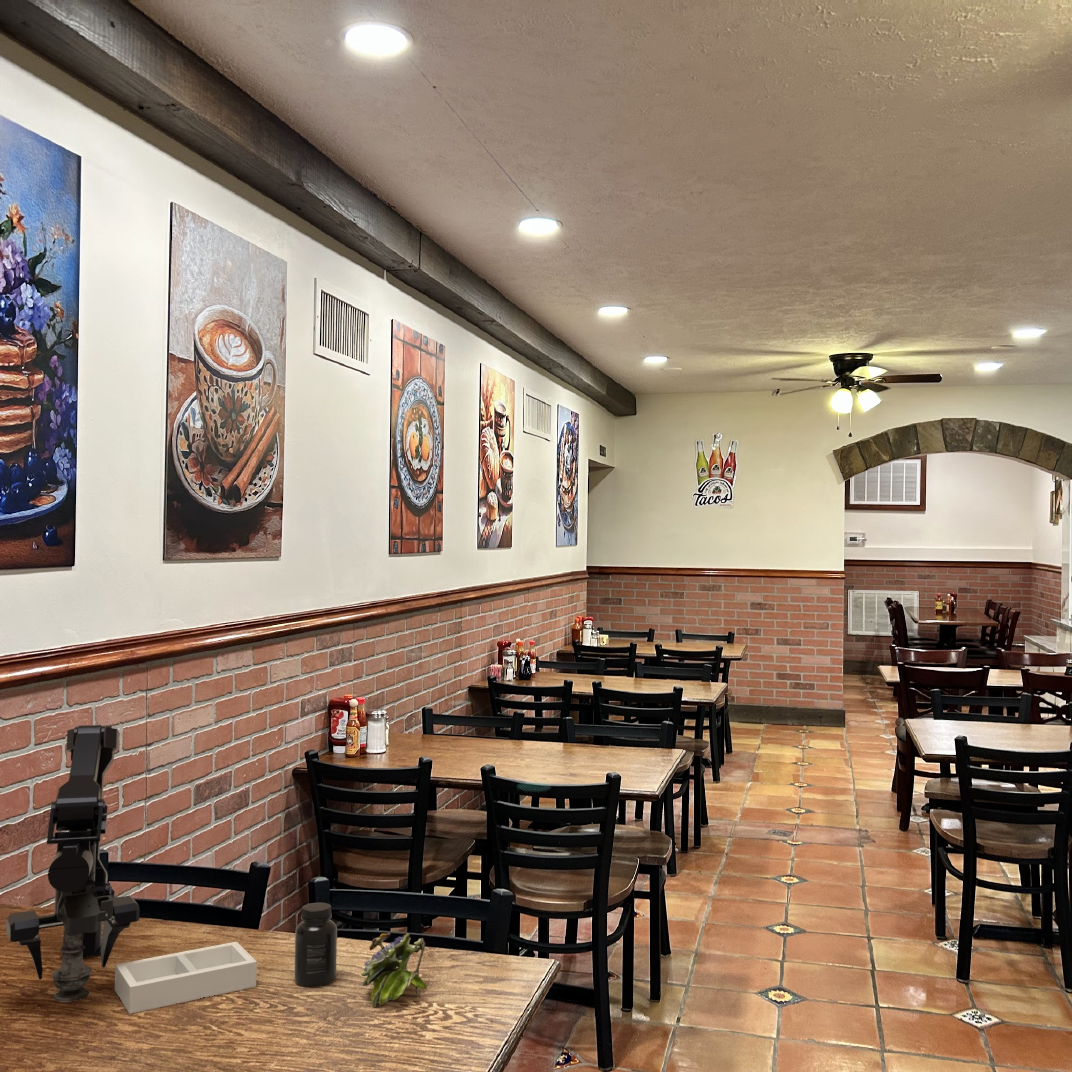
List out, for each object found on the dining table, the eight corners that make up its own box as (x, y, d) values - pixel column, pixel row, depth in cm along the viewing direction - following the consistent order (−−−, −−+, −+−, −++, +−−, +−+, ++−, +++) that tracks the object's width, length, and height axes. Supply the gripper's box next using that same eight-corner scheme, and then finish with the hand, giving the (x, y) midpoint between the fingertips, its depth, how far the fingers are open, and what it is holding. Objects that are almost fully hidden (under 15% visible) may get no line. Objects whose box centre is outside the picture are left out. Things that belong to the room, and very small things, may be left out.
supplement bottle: (343, 975, 171) (345, 903, 171) (322, 990, 165) (324, 915, 165) (308, 969, 173) (310, 898, 174) (285, 984, 167) (287, 910, 167)
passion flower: (377, 1021, 166) (388, 945, 173) (437, 1019, 163) (446, 942, 170) (343, 1003, 158) (356, 924, 165) (406, 1001, 154) (416, 920, 162)
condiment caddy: (114, 989, 163) (115, 964, 163) (235, 965, 174) (236, 941, 174) (129, 1013, 155) (130, 987, 155) (256, 986, 166) (256, 961, 166)
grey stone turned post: (75, 1005, 157) (78, 926, 158) (42, 1001, 159) (45, 923, 159) (99, 989, 163) (101, 914, 164) (66, 986, 164) (69, 910, 165)
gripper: (17, 896, 150) (13, 1004, 149) (149, 877, 160) (145, 977, 160) (7, 876, 159) (3, 978, 158) (132, 859, 169) (129, 954, 169)
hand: (72, 972), depth 161 cm, fingers open, 9 cm apart
